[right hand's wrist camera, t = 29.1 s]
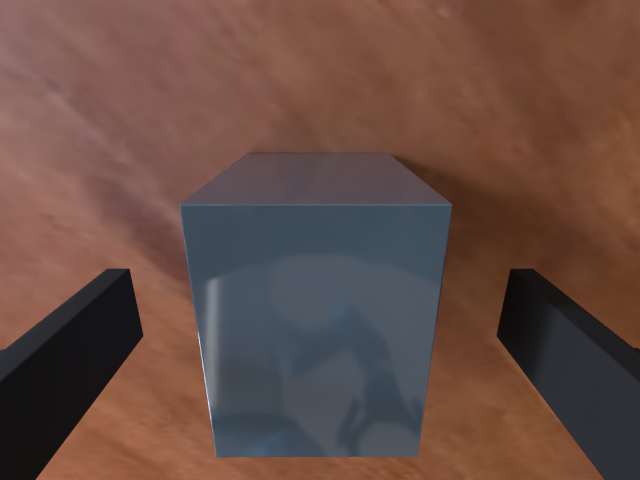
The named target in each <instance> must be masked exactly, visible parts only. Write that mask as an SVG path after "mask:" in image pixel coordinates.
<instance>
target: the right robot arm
mask: <svg viewBox="0 0 640 480" xmlns="http://www.w3.org/2000/svg"><path fill="white" fill-rule="evenodd" d="M142 337H143V331H142V327H141V322H140V317H139V312H138V308H137V303H136V298H135V293H134V288H133V284H132V279H131V274H130V269H106V270H105V271H104V272H102V273H101V274H100V275H99V276H97V277H96V278H95V279H94V280H92V281H91V282H90V283H88V284H87V285H86V286H85V287H83V288H82V289H81V290H80V291H78V292H77V293H76V294H75V295H73V296H72V297H71V298H69V299H68V300H67V301H66V302H64V303H63V304H62V305H61V306H59V307H58V308H57V309H55V310H54V311H53V312H52V313H50V314H49V315H48V316H47V317H45V318H44V319H43V320H42V321H40V322H39V323H38V324H36V325H35V326H34V327H33V328H31V329H30V330H29V331H28V332H26V333H25V334H24V335H23V336H21V337H20V338H19V339H17V340H16V341H15V342H14V343H12V344H11V345H10V346H9V347H7V348H6V349H3V350H1V351H0V480H35V479H36V478H37V477H38V475H39V474H40V473H41V472H42V470H43V469H44V468H45V466H46V465H47V464H48V462H49V461H50V460H51V458H52V457H53V456H54V454H55V453H56V452H57V450H58V449H59V448H60V446H61V445H62V444H63V442H64V441H65V440H66V438H67V437H68V436H69V434H70V433H71V432H72V430H73V429H74V428H75V426H76V425H77V424H78V422H79V421H80V420H81V418H82V417H83V416H84V414H85V413H86V412H87V410H88V409H89V408H90V406H91V405H92V404H93V402H94V401H95V400H96V398H97V397H98V396H99V394H100V393H101V392H102V390H103V389H104V388H105V386H106V385H107V384H108V382H109V381H110V380H111V378H112V377H113V376H114V374H115V373H116V372H117V370H118V369H119V368H120V366H121V365H122V364H123V362H124V361H125V360H126V358H127V357H128V356H129V354H130V353H131V352H132V350H133V349H134V348H135V346H136V345H137V344H138V342H139V341H140V340H141V338H142ZM497 337H498V338H499V340H500V341H501V342H502V344H503V345H504V346H505V348H506V349H507V350H508V352H509V353H510V354H511V356H512V357H513V358H514V360H515V361H516V362H517V364H518V365H519V366H520V368H521V369H522V370H523V372H524V373H525V374H526V376H527V377H528V378H529V380H530V381H531V382H532V384H533V385H534V386H535V388H536V389H537V390H538V392H539V393H540V394H541V396H542V397H543V398H544V400H545V401H546V402H547V404H548V405H549V406H550V408H551V409H552V410H553V412H554V413H555V414H556V416H557V417H558V418H559V420H560V421H561V422H562V424H563V425H564V426H565V428H566V429H567V430H568V432H569V433H570V434H571V436H572V437H573V438H574V440H575V441H576V442H577V444H578V445H579V446H580V448H581V449H582V450H583V452H584V453H585V454H586V456H587V457H588V458H589V460H590V461H591V462H592V464H593V465H594V466H595V468H596V469H597V470H598V472H599V473H600V474H601V476H602V477H603V478H604V479H605V480H640V349H638V348H633V347H631V346H630V345H629V344H628V343H626V342H625V341H624V340H623V339H621V338H620V337H619V336H617V335H616V334H615V333H614V332H612V331H611V330H610V329H609V328H607V327H606V326H605V325H604V324H602V323H601V322H600V321H598V320H597V319H596V318H595V317H593V316H592V315H591V314H590V313H588V312H587V311H586V310H585V309H583V308H582V307H581V306H579V305H578V304H577V303H576V302H574V301H573V300H572V299H571V298H569V297H568V296H567V295H565V294H564V293H563V292H562V291H560V290H559V289H558V288H557V287H555V286H554V285H553V284H552V283H550V282H549V281H548V280H546V279H545V278H544V277H543V276H541V275H540V274H539V273H538V272H536V271H535V270H534V269H510V274H509V279H508V284H507V288H506V293H505V298H504V303H503V308H502V312H501V317H500V322H499V327H498V331H497Z"/></svg>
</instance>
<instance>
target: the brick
mask: <svg viewBox="0 0 640 480" xmlns="http://www.w3.org/2000/svg"><path fill="white" fill-rule="evenodd" d="M452 207H453V205H452V203H450V202H449V201H448V200H447V199H445V198H444V197H443V196H442V195H440V194H439V193H438V192H437V191H435V190H434V189H433V188H431V187H430V186H429V185H428V184H426V183H425V182H424V181H423V180H421V179H420V178H419V177H418V176H416V175H415V174H414V173H413V172H411V171H410V170H409V169H408V168H406V167H405V166H404V165H403V164H401V163H400V162H399V161H397V160H396V159H395V158H394V157H392V156H391V155H390V154H389V153H246V154H245V155H244V156H242V157H241V158H240V159H238V160H237V161H236V162H234V163H233V164H232V165H230V166H229V167H228V168H226V169H225V170H224V171H222V172H221V173H220V174H219V175H217V176H216V177H215V178H213V179H212V180H211V181H209V182H208V183H207V184H205V185H204V186H203V187H201V188H200V189H199V190H197V191H196V192H195V193H194V194H192V195H191V196H190V197H188V198H187V199H186V200H184V201H183V202H182V203H180V204H179V209H180V216H181V222H182V229H183V236H184V243H185V249H186V256H187V263H188V270H189V277H190V283H191V290H192V297H193V304H194V310H195V317H196V324H197V331H198V338H199V344H200V351H201V358H202V365H203V371H204V378H205V385H206V392H207V399H208V405H209V412H210V419H211V426H212V432H213V439H214V446H215V453H216V457H417V456H418V452H419V444H420V437H421V430H422V423H423V416H424V408H425V401H426V394H427V387H428V380H429V372H430V365H431V358H432V351H433V344H434V336H435V329H436V322H437V315H438V308H439V300H440V293H441V286H442V279H443V272H444V264H445V257H446V250H447V243H448V236H449V228H450V221H451V214H452Z"/></svg>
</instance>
